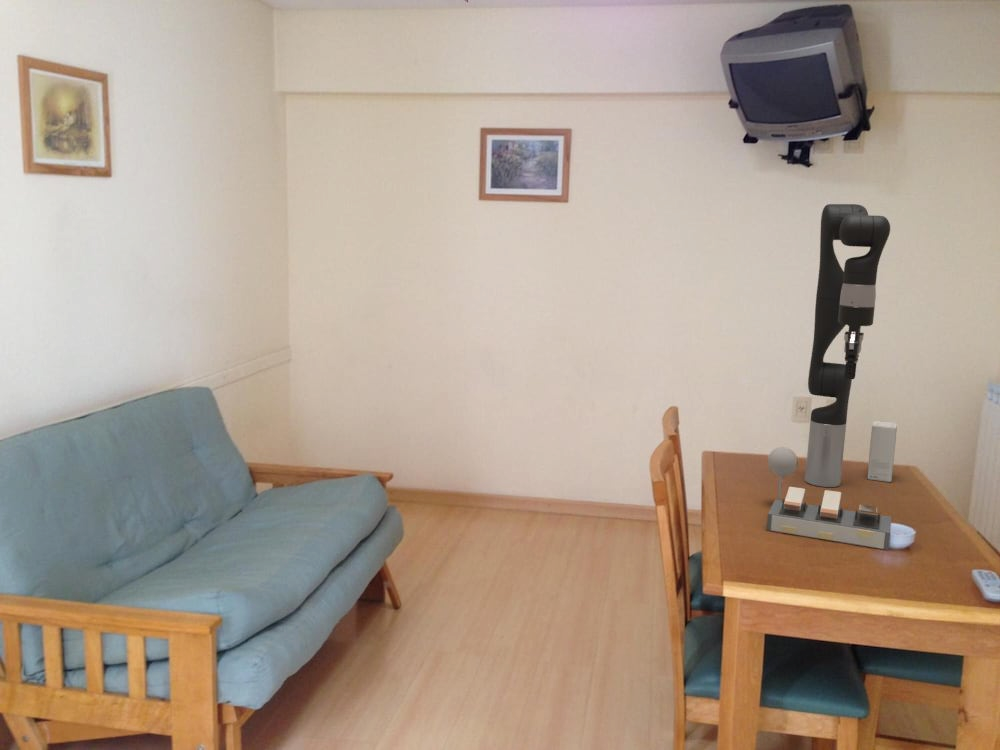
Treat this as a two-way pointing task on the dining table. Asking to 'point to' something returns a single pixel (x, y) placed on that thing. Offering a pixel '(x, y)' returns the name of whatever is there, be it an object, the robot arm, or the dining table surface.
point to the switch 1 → (794, 498)
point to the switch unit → (831, 525)
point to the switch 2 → (830, 504)
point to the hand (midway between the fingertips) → (849, 378)
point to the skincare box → (882, 451)
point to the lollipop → (782, 463)
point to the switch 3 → (868, 509)
